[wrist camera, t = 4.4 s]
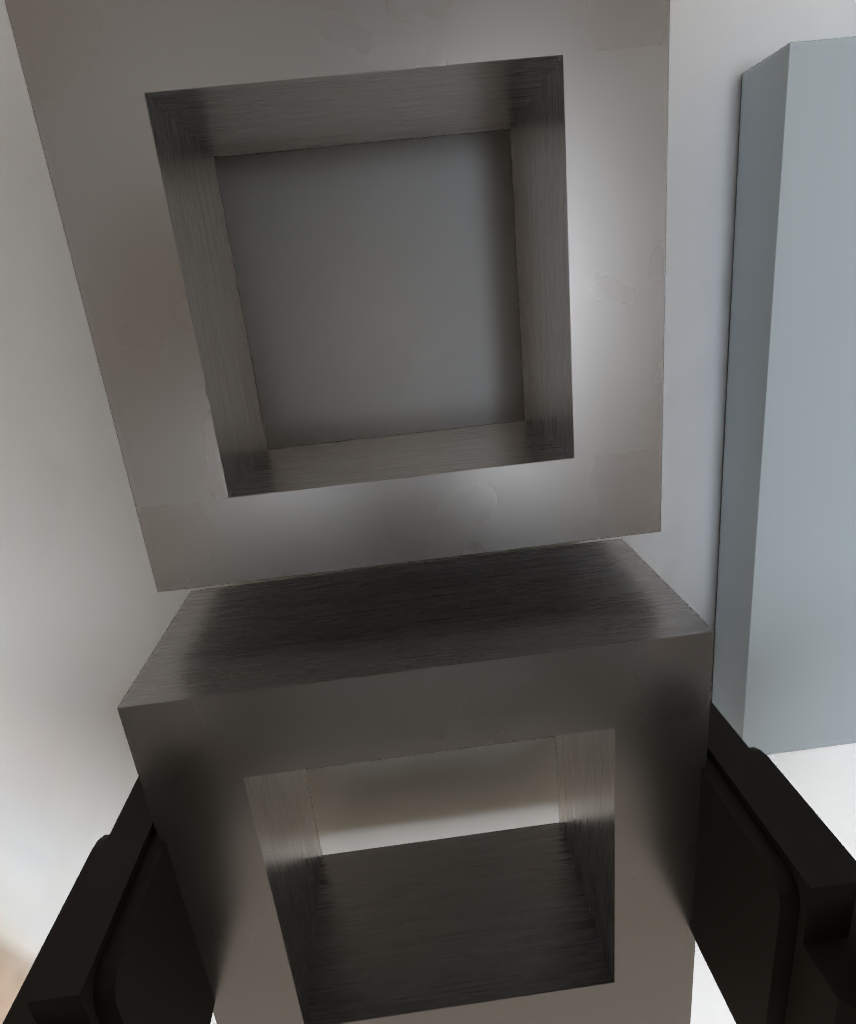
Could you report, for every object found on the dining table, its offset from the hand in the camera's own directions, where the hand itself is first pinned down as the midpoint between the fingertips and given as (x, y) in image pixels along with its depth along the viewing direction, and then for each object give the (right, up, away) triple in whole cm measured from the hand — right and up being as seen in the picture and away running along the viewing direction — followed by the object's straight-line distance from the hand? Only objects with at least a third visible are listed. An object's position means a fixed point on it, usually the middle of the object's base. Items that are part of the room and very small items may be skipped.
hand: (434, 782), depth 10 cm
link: (-1, +8, 0) cm, 8 cm away
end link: (0, 0, +1) cm, 1 cm away
